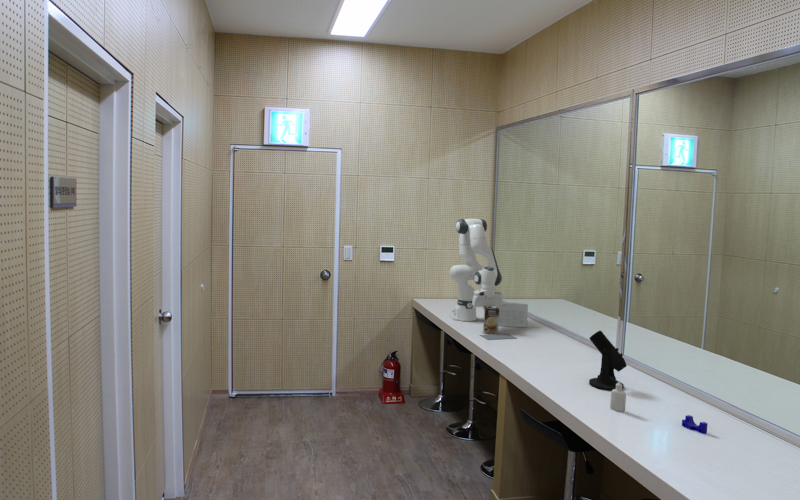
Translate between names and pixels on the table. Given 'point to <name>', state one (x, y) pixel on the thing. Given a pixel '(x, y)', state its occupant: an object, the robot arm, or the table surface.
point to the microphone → (607, 363)
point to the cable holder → (694, 425)
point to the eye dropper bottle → (618, 398)
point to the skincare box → (513, 314)
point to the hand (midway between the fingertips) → (486, 313)
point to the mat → (498, 336)
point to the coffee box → (491, 320)
